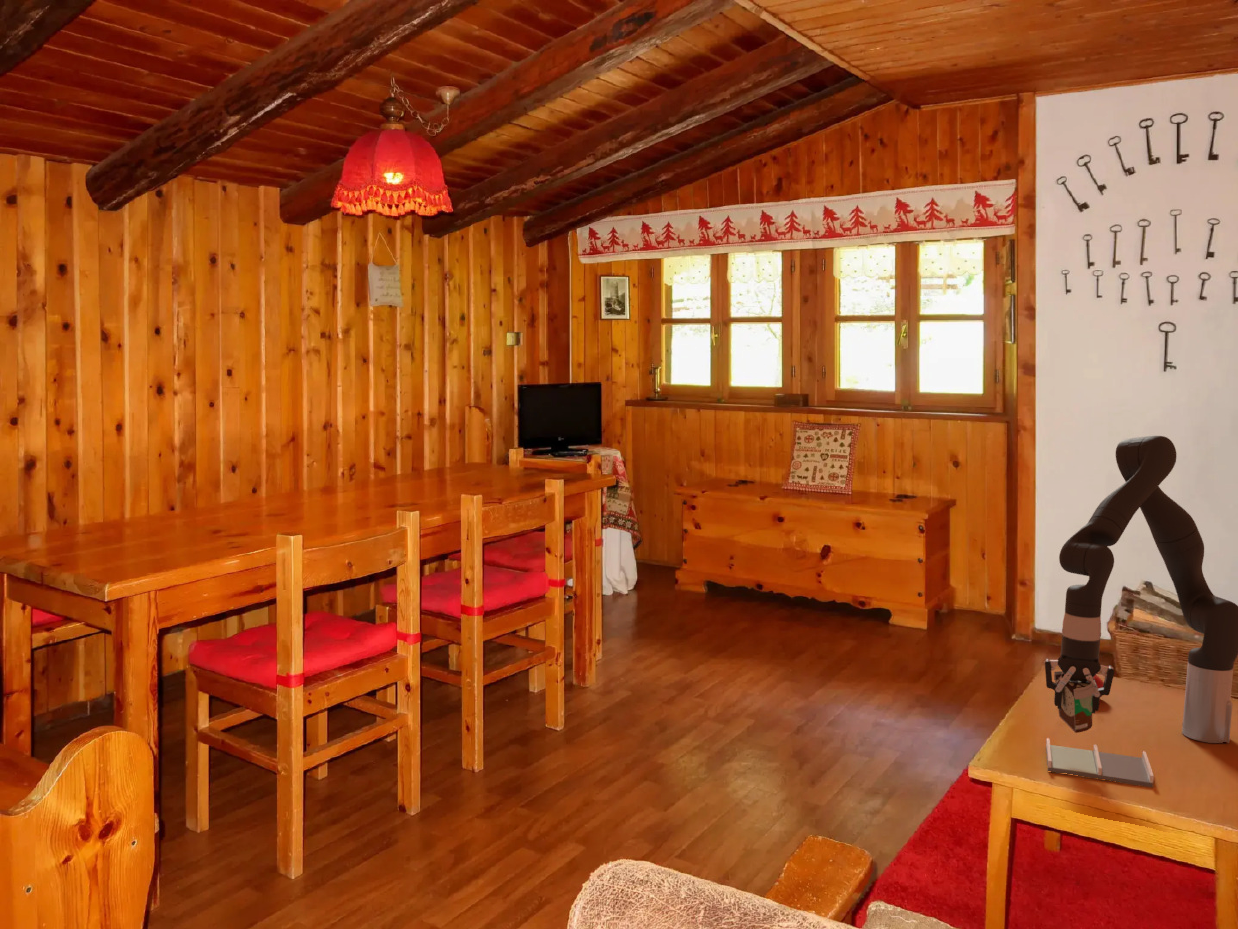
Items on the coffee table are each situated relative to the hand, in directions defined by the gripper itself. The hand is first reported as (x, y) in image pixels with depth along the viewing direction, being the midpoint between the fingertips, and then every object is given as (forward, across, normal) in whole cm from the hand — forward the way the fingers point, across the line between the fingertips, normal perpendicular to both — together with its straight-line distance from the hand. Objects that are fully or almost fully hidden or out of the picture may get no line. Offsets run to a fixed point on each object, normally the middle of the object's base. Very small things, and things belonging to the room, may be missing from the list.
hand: (1075, 709), depth 222 cm
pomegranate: (+12, -5, -48) cm, 50 cm away
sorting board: (+12, -5, 0) cm, 13 cm away
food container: (+3, -1, -1) cm, 4 cm away
